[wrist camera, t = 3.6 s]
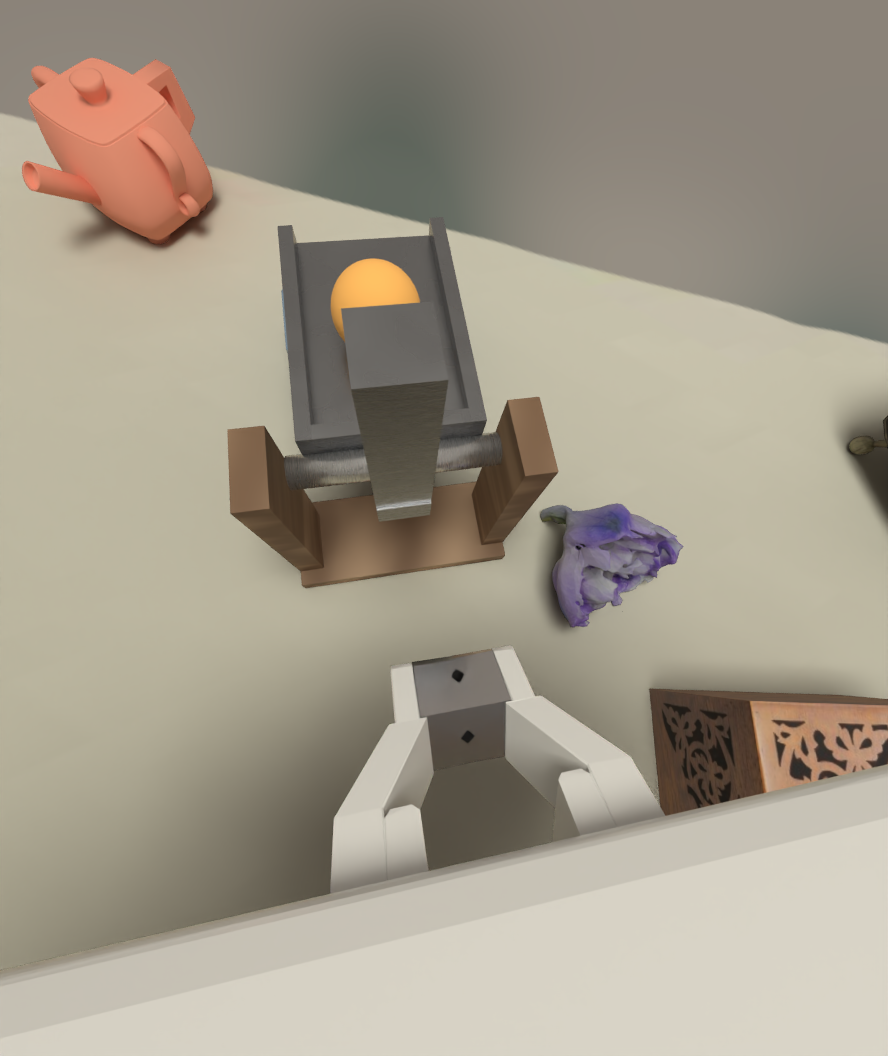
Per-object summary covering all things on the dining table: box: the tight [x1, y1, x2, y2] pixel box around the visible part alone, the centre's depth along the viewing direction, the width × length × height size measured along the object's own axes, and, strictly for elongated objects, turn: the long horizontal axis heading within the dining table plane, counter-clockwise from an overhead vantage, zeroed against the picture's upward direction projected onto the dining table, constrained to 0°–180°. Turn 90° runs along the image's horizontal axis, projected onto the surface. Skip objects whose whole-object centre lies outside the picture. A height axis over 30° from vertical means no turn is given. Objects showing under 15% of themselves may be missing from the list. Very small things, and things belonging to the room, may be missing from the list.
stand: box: [228, 397, 558, 588], centre depth 27 cm, size 15×6×14 cm, turn 99°
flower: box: [541, 504, 683, 627], centre depth 31 cm, size 9×9×10 cm
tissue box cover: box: [649, 689, 888, 816], centre depth 24 cm, size 26×14×10 cm, turn 178°
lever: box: [278, 217, 502, 522], centre depth 18 cm, size 10×15×11 cm, turn 9°
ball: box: [331, 259, 420, 342], centre depth 20 cm, size 4×4×4 cm
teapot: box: [22, 58, 213, 244], centre depth 36 cm, size 12×12×10 cm
